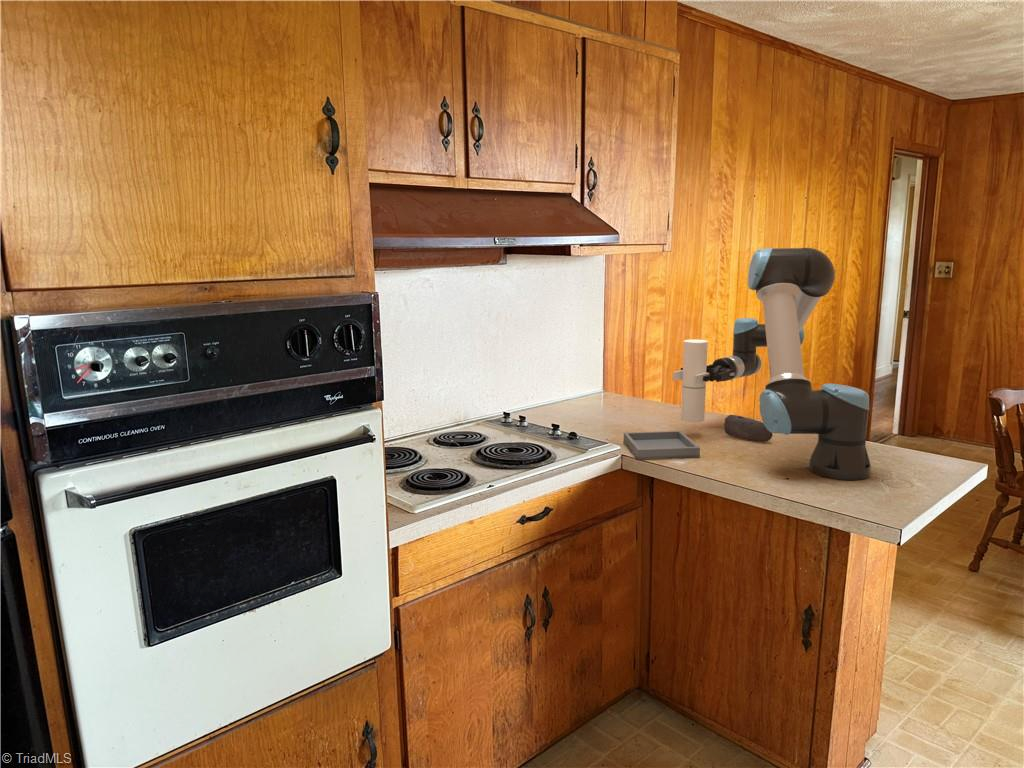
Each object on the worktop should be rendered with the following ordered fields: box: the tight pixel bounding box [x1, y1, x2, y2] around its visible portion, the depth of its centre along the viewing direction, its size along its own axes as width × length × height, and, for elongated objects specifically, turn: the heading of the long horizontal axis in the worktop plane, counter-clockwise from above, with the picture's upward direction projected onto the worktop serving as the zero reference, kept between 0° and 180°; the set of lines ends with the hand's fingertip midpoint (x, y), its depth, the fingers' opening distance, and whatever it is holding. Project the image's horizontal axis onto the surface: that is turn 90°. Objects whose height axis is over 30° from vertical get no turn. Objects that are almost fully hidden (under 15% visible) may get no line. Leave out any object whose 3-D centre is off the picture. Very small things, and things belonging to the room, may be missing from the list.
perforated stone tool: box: [723, 414, 774, 443], centre depth 225 cm, size 15×5×7 cm, turn 46°
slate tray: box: [623, 430, 701, 461], centre depth 217 cm, size 18×18×3 cm
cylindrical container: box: [680, 339, 709, 423], centre depth 227 cm, size 7×7×25 cm
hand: (684, 378), depth 224 cm, fingers closed on cylindrical container, 7 cm apart
